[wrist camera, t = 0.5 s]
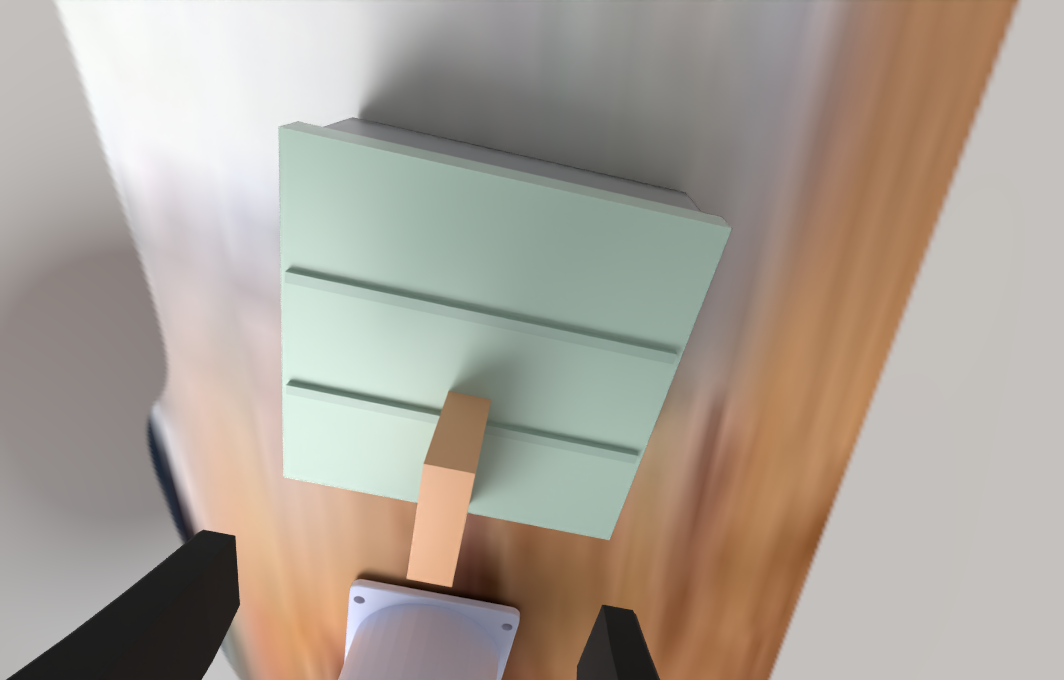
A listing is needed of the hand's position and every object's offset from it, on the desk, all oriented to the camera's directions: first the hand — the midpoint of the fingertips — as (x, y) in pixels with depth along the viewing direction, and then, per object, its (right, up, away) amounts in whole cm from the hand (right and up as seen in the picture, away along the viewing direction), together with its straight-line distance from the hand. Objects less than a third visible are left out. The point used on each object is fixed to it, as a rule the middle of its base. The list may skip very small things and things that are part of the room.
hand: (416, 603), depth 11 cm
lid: (+1, +5, +6) cm, 8 cm away
